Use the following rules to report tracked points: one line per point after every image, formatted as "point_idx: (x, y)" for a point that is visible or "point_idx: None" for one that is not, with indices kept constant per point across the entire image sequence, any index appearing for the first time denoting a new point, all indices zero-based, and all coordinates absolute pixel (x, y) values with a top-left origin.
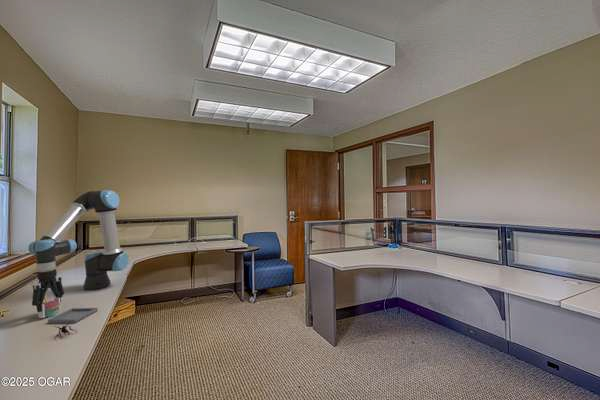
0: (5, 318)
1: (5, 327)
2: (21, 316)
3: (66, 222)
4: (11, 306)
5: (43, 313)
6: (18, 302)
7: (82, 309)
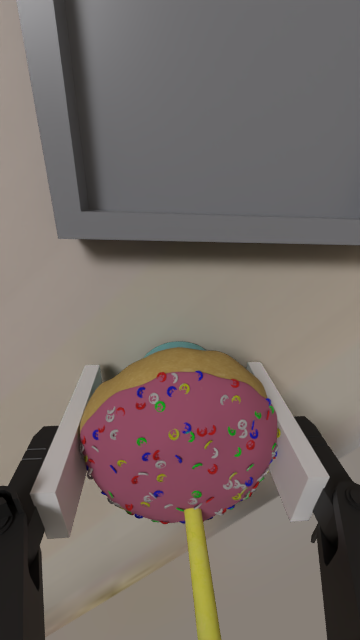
0: None
1: None
2: None
3: None
4: (61, 613)
5: (274, 388)
6: None
7: (57, 8)
